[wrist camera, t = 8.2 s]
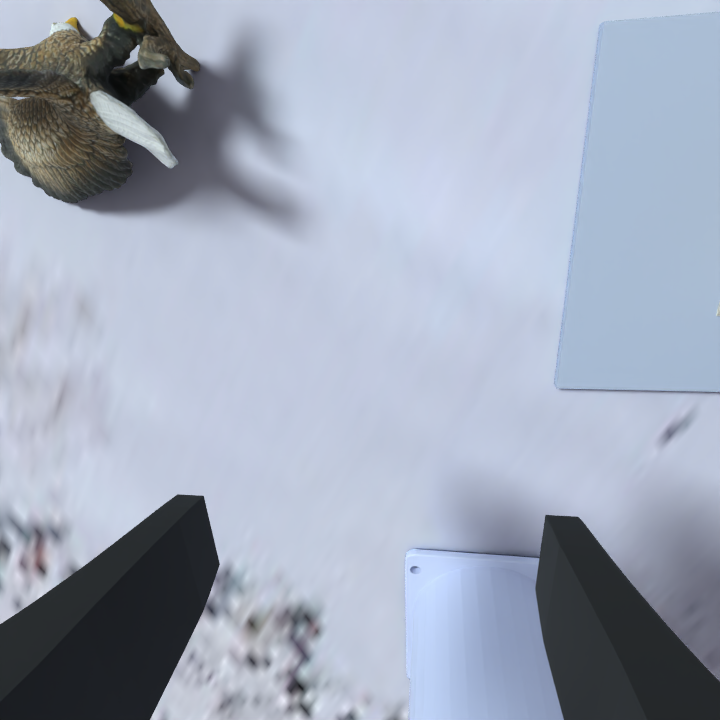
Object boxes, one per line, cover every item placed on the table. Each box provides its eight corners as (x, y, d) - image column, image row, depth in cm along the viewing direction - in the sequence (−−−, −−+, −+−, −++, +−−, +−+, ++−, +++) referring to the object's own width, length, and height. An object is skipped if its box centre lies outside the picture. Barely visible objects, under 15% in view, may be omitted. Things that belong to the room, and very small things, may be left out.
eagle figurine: (92, -165, 14) (-175, -29, 14) (51, -121, 9) (-326, 69, 10) (228, 99, 20) (35, 184, 20) (242, 200, 15) (-4, 302, 16)
